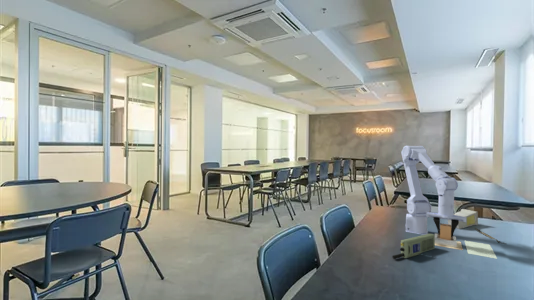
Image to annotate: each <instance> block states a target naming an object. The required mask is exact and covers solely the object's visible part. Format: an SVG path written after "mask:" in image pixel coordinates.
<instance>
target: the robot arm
mask: <svg viewBox="0 0 534 300" xmlns="http://www.w3.org/2000/svg"><path fill="white" fill-rule="evenodd" d="M400 153H401V157H402V162H403V167H404V170H405V175H406V180H407V185H408V190H409V194H410V196H409V197H408V198H407V200H406V210H407V212H408V213H406V215H405V232H406V233H412V234H418V235H426V234H429V231H428V218H431V219H433V222H434V224H435V227H436V229H437V234H438V235H440V223H441V219H442V220H447V221H448V220H451V237H453V236H454V233H455V231H456V229H457V228H456V227H457V225H458V224H459V221H462V222H466V217H463V216H457V215H454V214H455V213H454V211H455V191H456V190H457V189H458V186H459V183H458V181H457V179H456V178H455V177H451V176H449V175H448V174H447V173H446V172H445V170H444V169H443V167H442V166H441V165H436V164H435V163H434V161H433V160H432V159H431V157H430V156H429V155H428V150H427V148H425V147H424V146H423V145H404V146H403V148H402V150H401V152H400ZM420 162H421V163H422V164H423V166H425V168H426V169H428V170H427V173H428V175H429V176H430V177H431V179H432V180H433V182H435V183H434V184H435V188H436V190H437V194H438V205H437V206H438V209H437V212H432V205H431V203H430V201H429V199H428V198H427V197H426V196H424V195H423V190H422V186H421V183H420V182H421V181H420V177H419V173H418V169H417V164H418V163H420Z"/></svg>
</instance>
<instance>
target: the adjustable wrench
mask: <svg viewBox="0 0 534 300" xmlns="http://www.w3.org/2000/svg"><path fill="white" fill-rule="evenodd" d="M474 229H475V230H476V231H477V232H478V234H479V233H480V234H481V235H483V236H485V237H487V238H489V239H490V240H491V239H492V240H496V242H497V244H502V245H507V243H505V242H504V241H502V242H501V241H500V240H498V239H497V238H495V237H493V236H491V235H489V234H487V233H485V232H483V231H482V230H481V229H480V228H478V227H474Z"/></svg>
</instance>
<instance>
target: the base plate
mask: <svg viewBox="0 0 534 300" xmlns="http://www.w3.org/2000/svg"><path fill="white" fill-rule="evenodd" d="M462 245H463V244H462V242H461V241H457V248H456V247H450V246H444V245H439V244H435V247H436V246H437V247H440V248H441V247H442V248H447V249H454V250H460V251H464V249H463V246H462Z"/></svg>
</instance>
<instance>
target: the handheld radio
mask: <svg viewBox="0 0 534 300" xmlns="http://www.w3.org/2000/svg"><path fill="white" fill-rule="evenodd" d="M399 241H400V249H399V251H400V253H397V254H394V255H392V256H391V258H392V259H393V260H395V259H396V260H397V259H399V258H404V259H407V258H412V257H415V256H418V255H422V253H424V252H427V251H431V250H435V249H436V245H435V233H434V234H433V233H428V234H425V235H423V234H421V235H419V236H414V237H409V238H405V239H401V240H399Z"/></svg>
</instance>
